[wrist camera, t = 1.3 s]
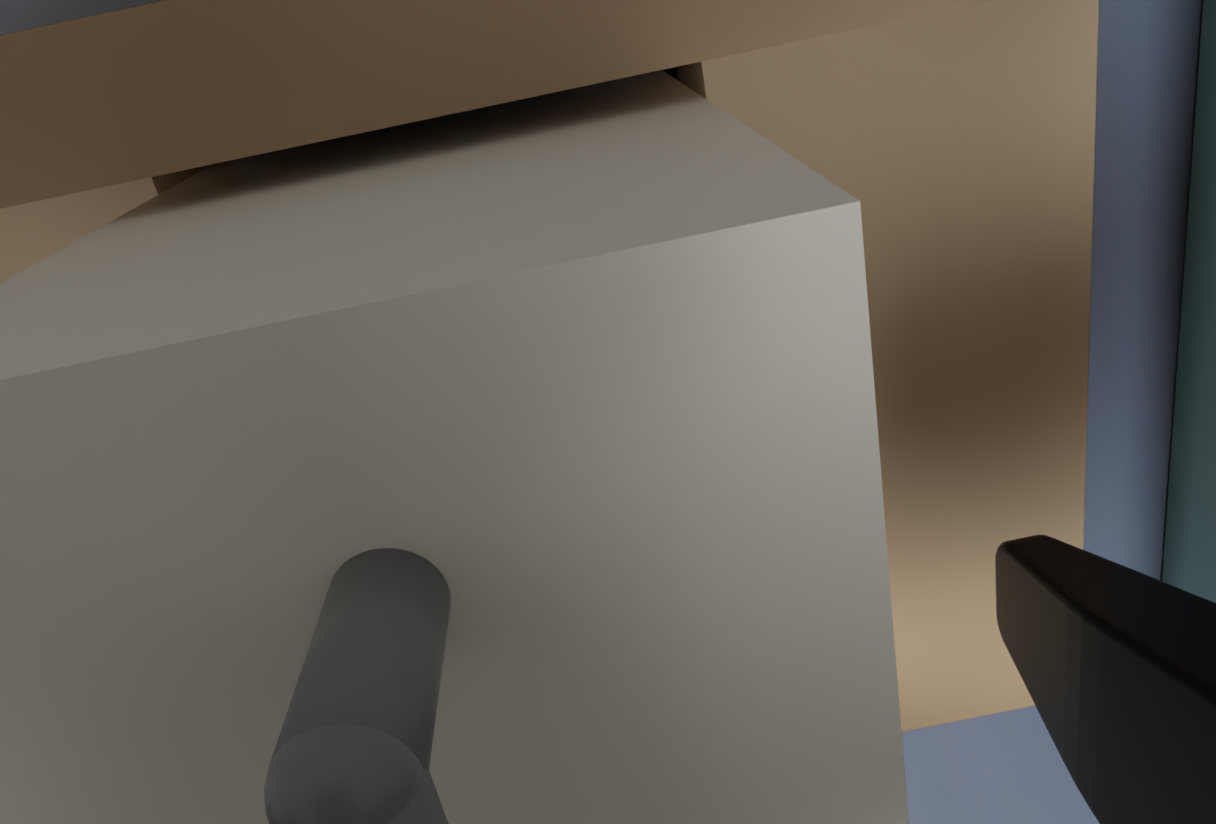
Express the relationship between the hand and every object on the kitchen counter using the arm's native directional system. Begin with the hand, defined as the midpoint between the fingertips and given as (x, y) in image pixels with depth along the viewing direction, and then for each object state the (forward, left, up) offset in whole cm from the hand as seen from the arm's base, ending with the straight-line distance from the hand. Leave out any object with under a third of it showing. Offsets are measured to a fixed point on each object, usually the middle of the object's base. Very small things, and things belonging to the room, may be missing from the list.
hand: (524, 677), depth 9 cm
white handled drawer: (0, 0, -5) cm, 5 cm away
